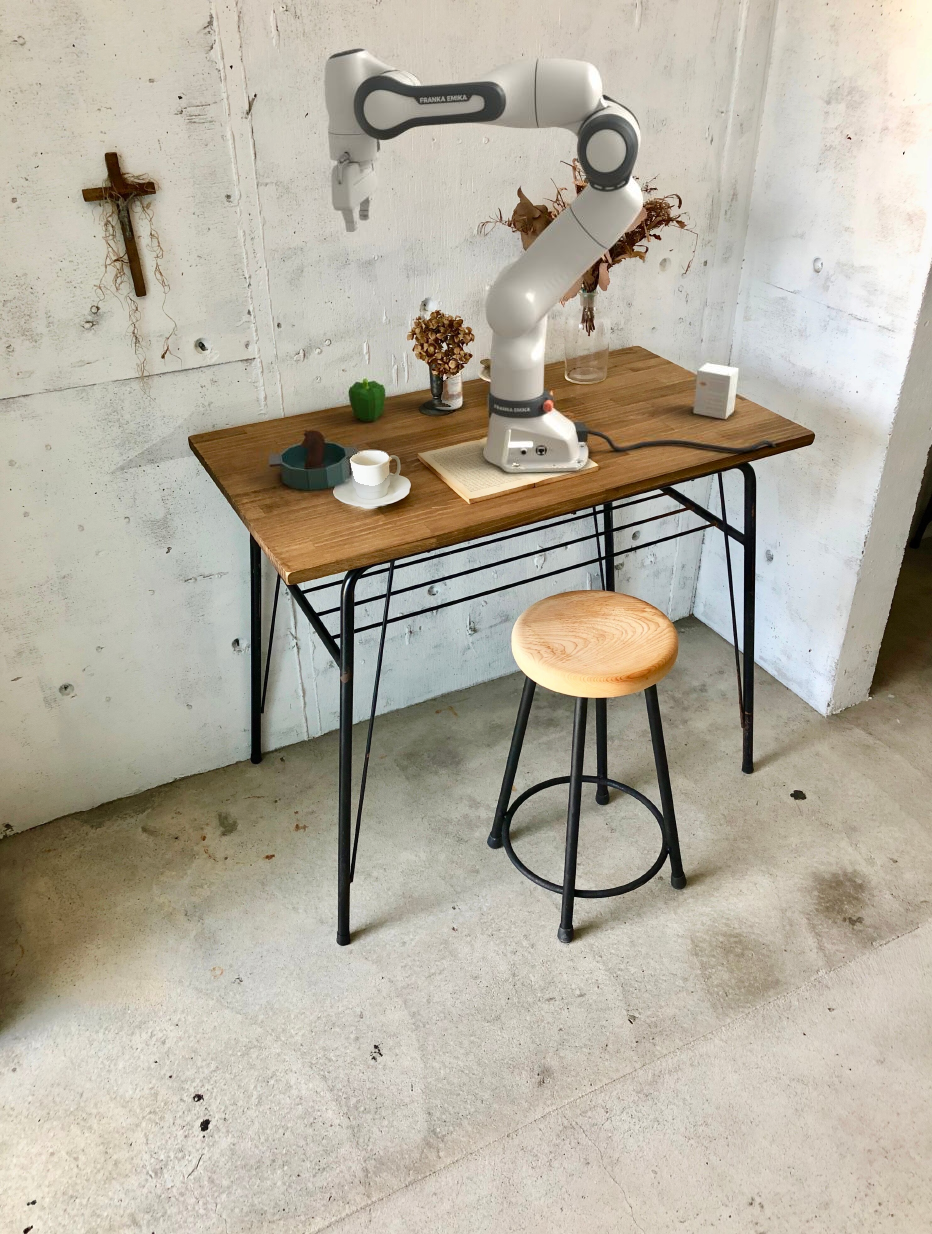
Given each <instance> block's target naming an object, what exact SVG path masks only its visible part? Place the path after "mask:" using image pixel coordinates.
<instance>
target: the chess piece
mask: <svg viewBox="0 0 932 1234" xmlns="http://www.w3.org/2000/svg"><path fill="white" fill-rule="evenodd" d="M304 431H305V432H304V433H303V434H302V435H303V436H304V438H303V441H302V442H301V443H302V444H301V447H302V449H305V448H306V447H308V446H311V447H310V448H309V451H308V453H307V456H306V460H305V464H304V466H305V467H304V469H317V468H325V467H324V466H323V459H324V450H325V442H326V440H325V438H324V435H323V434H322V432H320V431H319V430H316V429H310V430H306V429H305V430H304Z"/></svg>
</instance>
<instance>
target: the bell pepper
mask: <svg viewBox="0 0 932 1234" xmlns="http://www.w3.org/2000/svg"><path fill="white" fill-rule="evenodd" d="M348 400H349V403H350V407H351V410H352V413H353V415H354V416H355V418H357V419H359V420H360V421H362V422H366V423H369V422H375V421H376V420H378V419H379V418H380V417H382V415H383V413H384V409H385V403H386V388H385V386H384V384H381V383H379V382H377V381H376V380H370V381H369V380H368V378H363V379H362V382H360V381H355V382H354V383H353V385H351V386H350V387H349V389H348Z"/></svg>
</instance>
